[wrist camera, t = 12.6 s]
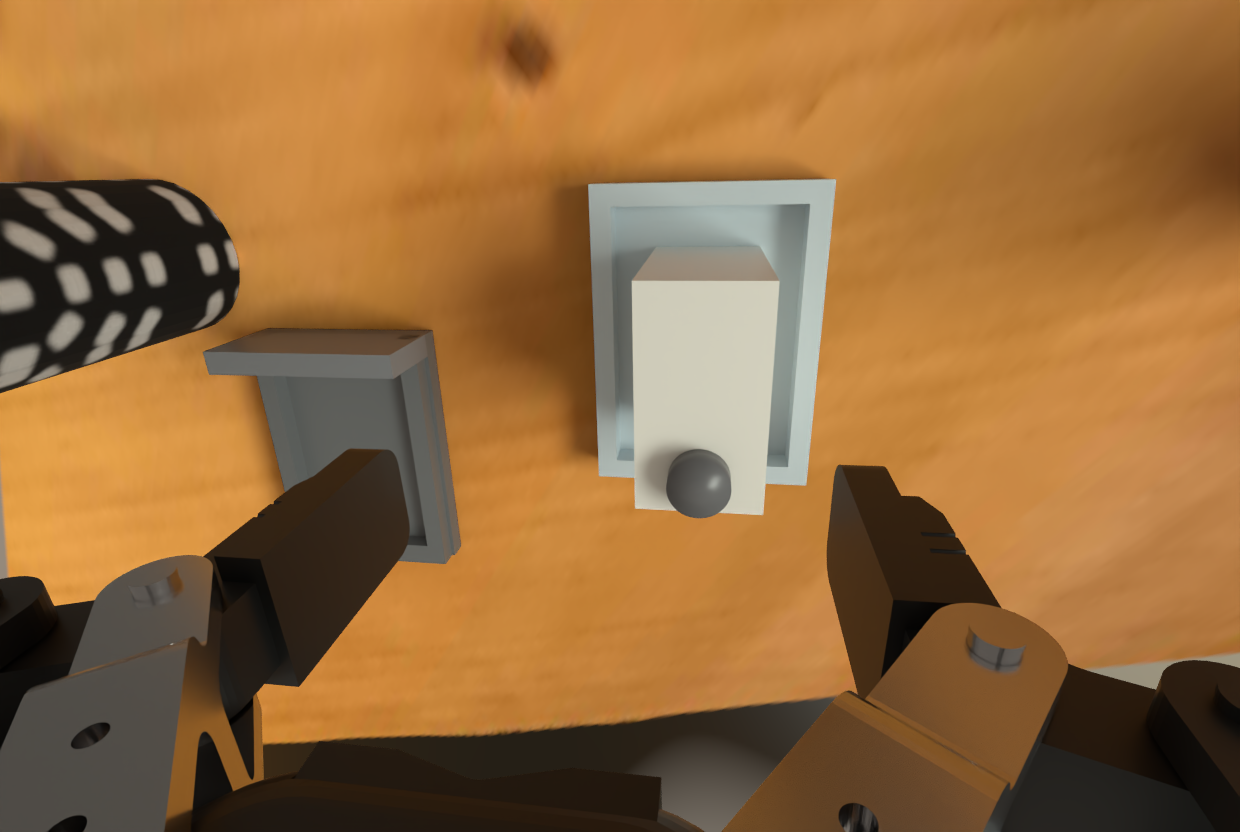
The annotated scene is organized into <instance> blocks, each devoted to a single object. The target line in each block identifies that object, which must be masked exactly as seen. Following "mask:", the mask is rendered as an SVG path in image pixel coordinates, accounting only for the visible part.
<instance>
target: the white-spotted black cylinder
mask: <svg viewBox="0 0 1240 832" xmlns="http://www.w3.org/2000/svg"><path fill="white" fill-rule="evenodd" d="M238 288H239V265H238V259H237V254H236V252H235V249H234V246H233V243H232V240H231V238H230V236H229V235H228V233H227V231H226V229H225V227H224V225H223V224H222V223H221V221H220V220H219V219H218V217H217V216H216V215H215V213H214V212H213V211H212V210H211V209H210V208H209V207H208V206H207V205H206V204H205V203H204V202H203V201H202V200H201V199H199V198H198V197H197V196H195V195H194V194H192V193H191V192H190V191H188V190H186V189H184V188H182V187H180V186H178V185H176V184H174V183H170V182H166V181H162V180H154V179H128V180H82V181H36V182H0V393H2V392H5V391H9V390H12V389H15V388H18V387H21V386H24V385H28V384H31V383H34V382H37V381H40V380H43V379H46V378H50V377H53V376H56V375H59V374H62V373H65V372H69V371H72V370H75V369H78V368H81V367H84V366H87V365H91V364H94V363H97V362H100V361H103V360H106V359H110V358H113V357H116V356H119V355H122V354H125V353H128V352H132V351H135V350H138V349H141V348H144V347H147V346H151V345H154V344H157V343H160V342H163V341H166V340H169V339H173V338H176V337H179V336H182V335H185V334H188V333H192V332H195V331H198V330H201V329H204V328H207V327H209V326H212V325H214V324H216V323H217V322H219V321H220V320H221V319H223V318H224V317H225V316H226V315H227V313H228V312H229V311H230V310H231V308H232V306H233V304H234V302H235V300H236V297H237V294H238Z"/></svg>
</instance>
